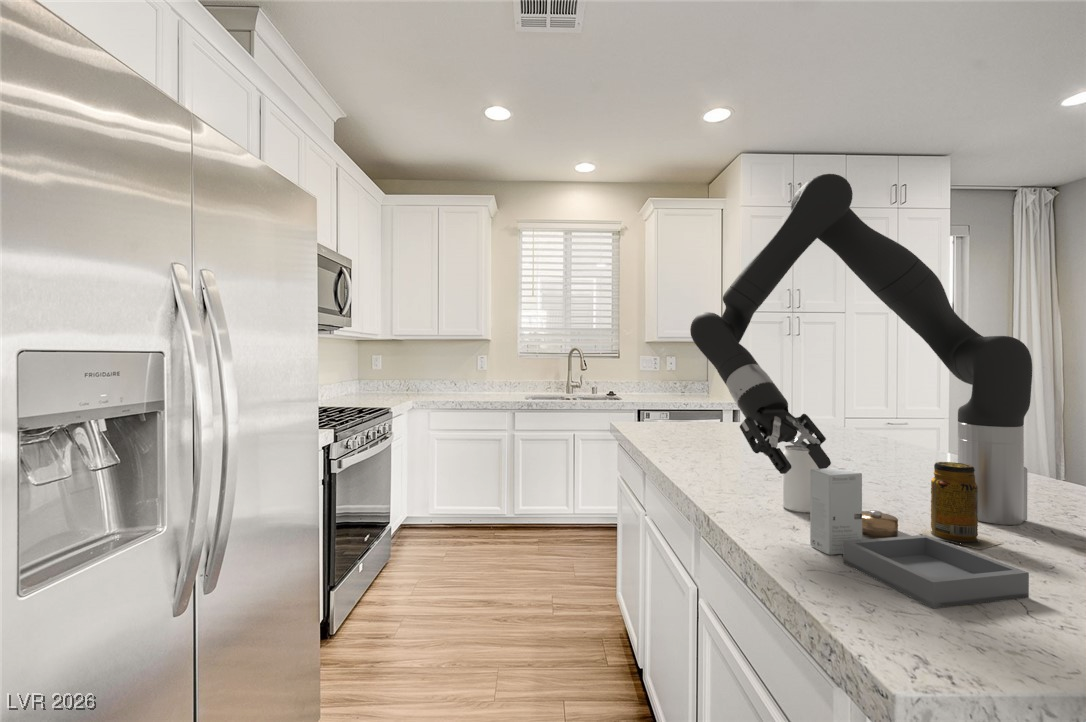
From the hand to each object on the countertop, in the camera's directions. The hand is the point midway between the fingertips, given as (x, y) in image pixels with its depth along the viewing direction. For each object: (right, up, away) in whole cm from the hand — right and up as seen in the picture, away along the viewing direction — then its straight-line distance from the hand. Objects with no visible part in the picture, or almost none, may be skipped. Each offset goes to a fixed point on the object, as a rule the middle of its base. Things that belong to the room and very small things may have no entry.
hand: (807, 469), depth 86 cm
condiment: (+25, -11, -1) cm, 27 cm away
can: (+7, -11, +16) cm, 21 cm away
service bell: (+11, -11, 0) cm, 16 cm away
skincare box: (+2, -12, -5) cm, 13 cm away
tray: (+8, -11, -16) cm, 21 cm away
